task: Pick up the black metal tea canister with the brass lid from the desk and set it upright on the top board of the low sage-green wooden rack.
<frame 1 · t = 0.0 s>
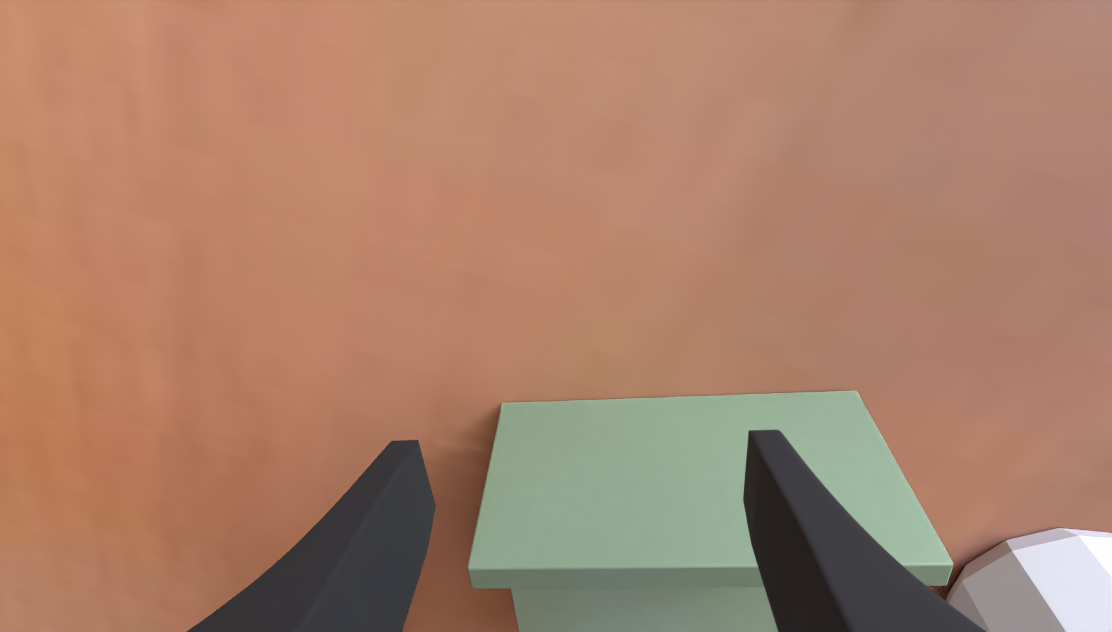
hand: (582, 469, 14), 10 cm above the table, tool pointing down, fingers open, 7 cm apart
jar: (1038, 583, 30), on the table
shelf: (673, 502, 28), on the table
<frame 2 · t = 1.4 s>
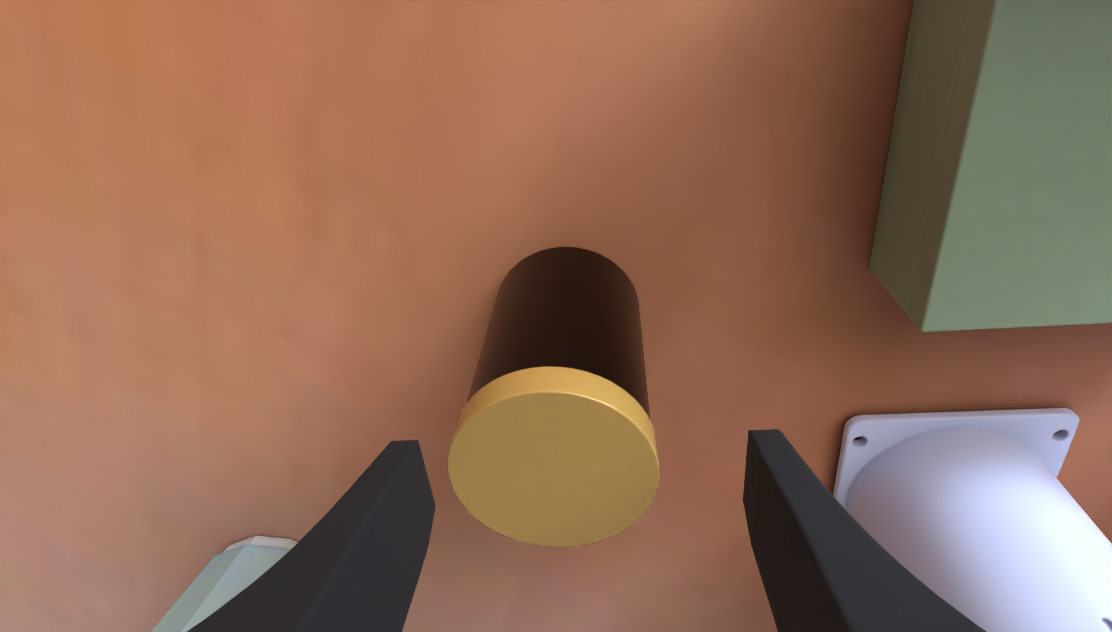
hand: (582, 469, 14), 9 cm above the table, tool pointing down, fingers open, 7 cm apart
canister: (567, 311, 22), on the table
disposable coffee cup: (288, 571, 31), on the table
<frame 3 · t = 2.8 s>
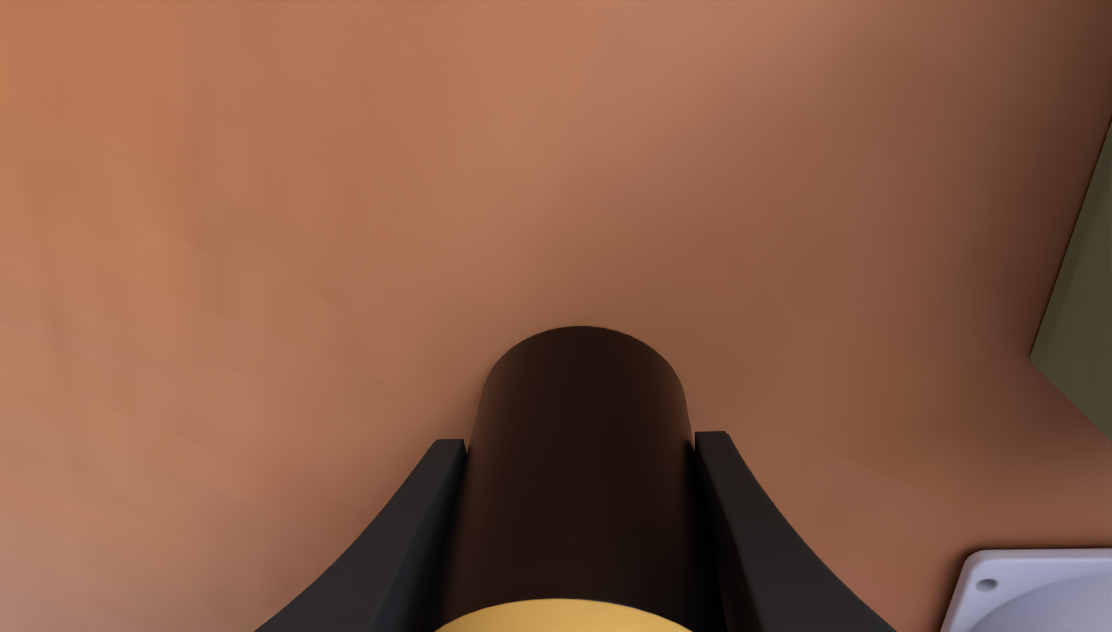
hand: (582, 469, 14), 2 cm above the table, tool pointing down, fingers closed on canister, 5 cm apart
canister: (582, 410, 16), on the table, touching gripper
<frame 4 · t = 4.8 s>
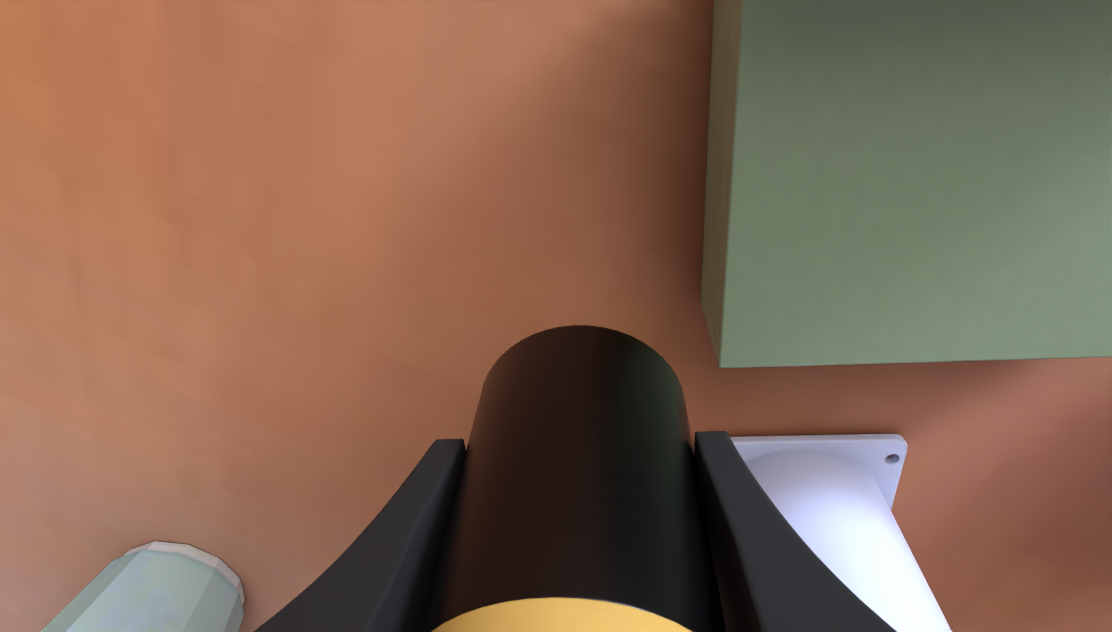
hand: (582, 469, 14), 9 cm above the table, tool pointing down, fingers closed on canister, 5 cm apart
canister: (581, 410, 16), point 7 cm above the table, touching gripper
disposable coffee cup: (190, 575, 32), on the table
shelf: (950, 115, 19), on the table
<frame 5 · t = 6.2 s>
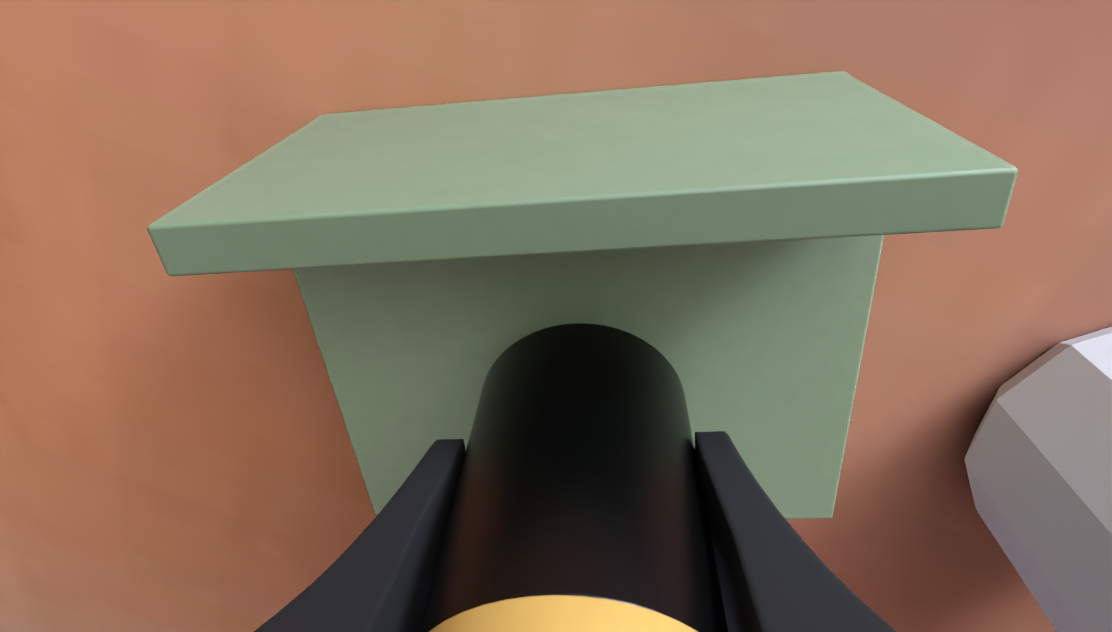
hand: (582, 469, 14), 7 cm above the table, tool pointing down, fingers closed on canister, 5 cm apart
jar: (1100, 417, 21), on the table
canister: (582, 408, 16), point 5 cm above the table, touching gripper
shelf: (587, 290, 20), on the table
when the fingers open (6 cm above the table, at t = 7.2 s): canister stays where it is, resting on shelf.
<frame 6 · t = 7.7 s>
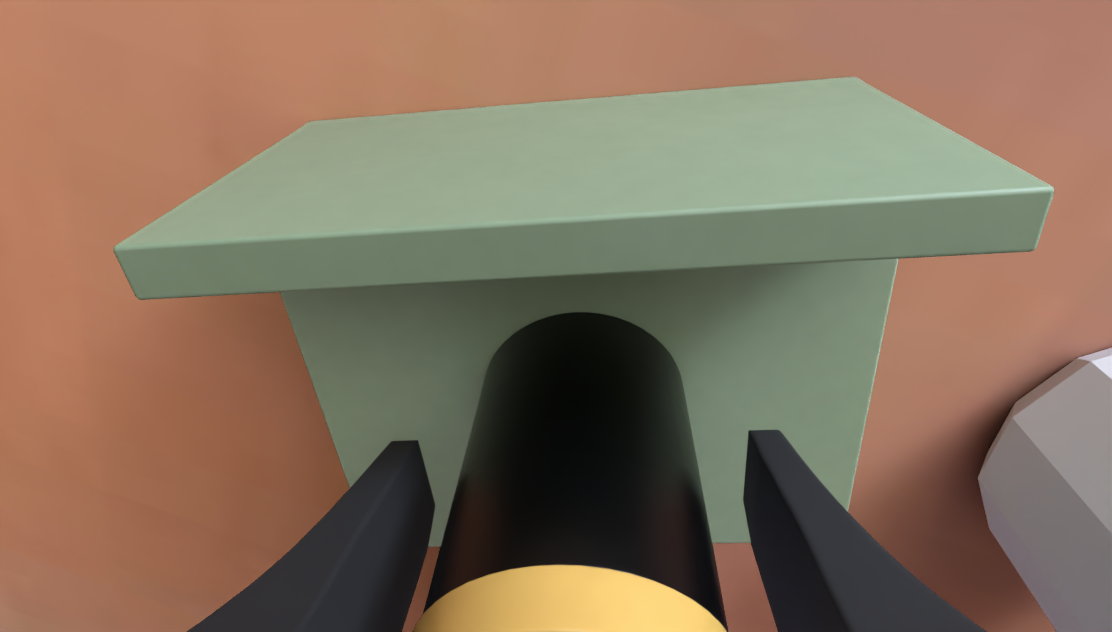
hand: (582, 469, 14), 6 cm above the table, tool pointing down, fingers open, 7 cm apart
canister: (582, 396, 16), point 4 cm above the table, touching shelf
shelf: (586, 303, 19), on the table
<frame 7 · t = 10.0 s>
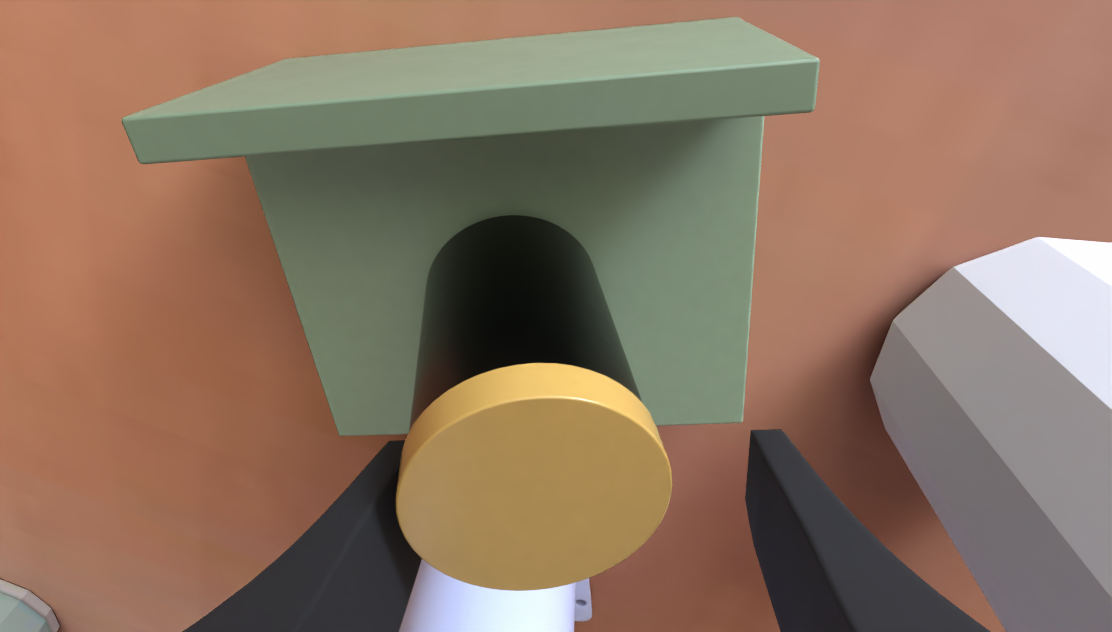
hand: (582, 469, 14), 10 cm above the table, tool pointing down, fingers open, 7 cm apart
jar: (994, 342, 24), on the table
canister: (512, 293, 19), point 4 cm above the table, tilted 10°, touching gripper, shelf
disposable coffee cup: (8, 605, 36), on the table
shelf: (526, 223, 22), on the table
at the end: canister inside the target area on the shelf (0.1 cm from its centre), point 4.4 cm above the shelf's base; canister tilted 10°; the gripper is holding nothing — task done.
